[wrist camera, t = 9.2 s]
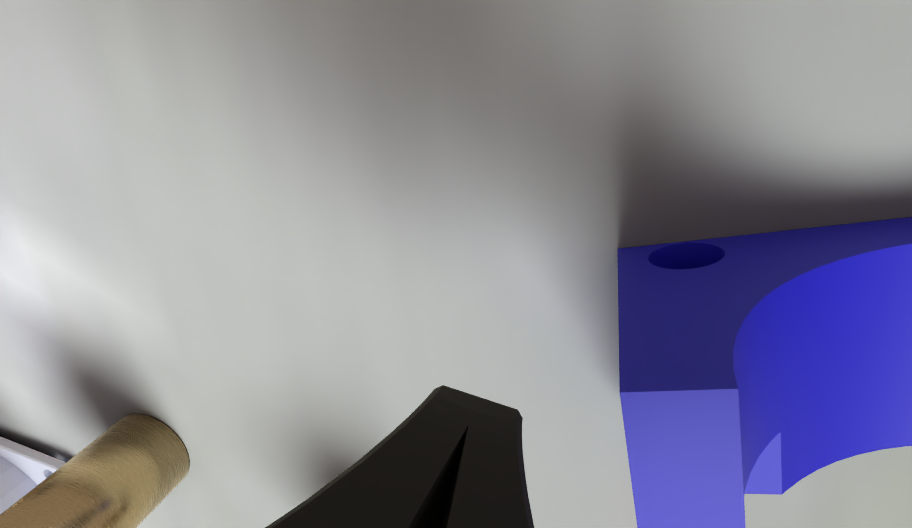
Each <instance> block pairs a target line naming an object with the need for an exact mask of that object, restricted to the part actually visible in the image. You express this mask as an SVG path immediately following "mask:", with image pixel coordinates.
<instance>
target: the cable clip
mask: <svg viewBox="0 0 912 528" xmlns="http://www.w3.org/2000/svg"><path fill="white" fill-rule="evenodd" d="M618 307H619V372H620V398H621V405H622V413H623V420H624V428H625V436H626V443H627V451H628V458H629V466H630V474H631V481H632V489H633V496H634V504H635V512H636V519H637V527H638V528H745V510H744V494H783V493H784V492H785V491H786V490H788V489H789V488H790V487H791V486H793V485H794V484H795V483H797V482H798V481H799V480H801V479H802V478H804V477H806V476H807V475H809V474H811V473H813V472H814V471H816V470H818V469H820V468H822V467H825V466H827V465H829V464H832V463H834V462H836V461H839V460H842V459H845V458H849V457H852V456H855V455H858V454H863V453H867V452H872V451H876V450H881V449H888V448H896V447H903V446H912V217H907V218H898V219H888V220H879V221H870V222H861V223H851V224H842V225H833V226H823V227H814V228H805V229H796V230H786V231H777V232H768V233H758V234H749V235H740V236H731V237H721V238H712V239H703V240H693V241H684V242H675V243H666V244H656V245H647V246H638V247H628V248H619V249H618Z"/></svg>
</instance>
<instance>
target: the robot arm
mask: <svg viewBox="0 0 912 528" xmlns="http://www.w3.org/2000/svg"><path fill="white" fill-rule="evenodd" d="M65 463H66V462H64V461H61V460H59V459H56V458H54V457H51V456H49V455H46V454H44V453H41V452H39V451H36V450H33V449H31V448H28V447H26V446H23V445H21V444H18V443H16V442H13V441H11V440H8V439H6V438H3V437H0V514H2V513H3V512H4V511H5V510H7V509H8V508H9V507H11V506H12V505H13V504H14V503H16V502H17V501H18V500H19V499H21V498H22V497H23V496H25V495H26V494H27V493H28V492H30V491H31V490H32V489H33V488H35V487H36V486H37V485H38V484H40V483H41V482H42V481H44V480H45V479H46V478H47V477H49V476H50V475H51V474H52V473H54V472H55V471H56V470H58V469H59V468H60V467H61V466H63V465H64V464H65ZM265 528H534V525H533V519H532V514H531V509H530V503H529V498H528V492H527V485H526V479H525V470H524V461H523V450H522V416H521V415H520V413H519V411H518V410H517V409H514V408H511V407H508V406H505V405H501V404H498V403H495V402H492V401H489V400H486V399H483V398H480V397H477V396H474V395H471V394H468V393H465V392H462V391H459V390H456V389H453V388H450V387H447V386H440V387H438V388H436V389H434V390H433V392H432V393H431V394H430V395H429V396H428V397H427V398H426V400H425V401H424V402H423V403H422V404H421V405H420V406H419V407H418V408H417V409H416V410H415V411H414V412H413V413H412V414H411V415H410V416H409V417H408V418H407V419H406V420H405V421H403V422H402V423H401V424H400V425H399V426H398V427H397V428H396V429H395V430H394V431H393V432H392V433H390V434H389V435H388V436H387V437H386V438H385V439H383V440H382V441H381V442H380V443H379V444H377V445H376V446H375V447H374V448H373V449H372V450H370V451H369V452H368V453H367V454H366V455H364V456H363V457H362V458H361V459H360V460H359V461H357V462H356V463H355V464H354V465H352V466H351V467H350V468H348V469H347V470H346V471H344V472H343V473H342V474H340V475H339V476H338V477H336V478H335V479H334V480H332V481H331V482H330V483H328V484H327V485H326V486H324V487H323V488H322V489H320V490H319V491H318V492H316V493H315V494H314V495H312V496H311V497H310V498H308V499H307V500H306V501H304V502H303V503H301V504H300V505H298V506H297V507H295V508H294V509H292V510H291V511H290V512H288V513H287V514H285V515H284V516H282V517H281V518H279V519H278V520H276V521H275V522H273V523H272V524H270V525H269V526H267V527H265Z"/></svg>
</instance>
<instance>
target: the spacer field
mask: <svg viewBox="0 0 912 528" xmlns="http://www.w3.org/2000/svg"><path fill="white" fill-rule="evenodd" d="M188 470H189V457H188V453H187V451H186V448H185V446H184V445H183V443H182V441H181V440H180V439H179V437H178V436H177V435H176V434H175V433H174V432H173V431H172V430H171V429H170V428H169V427H168V426H166V425H165V424H163V423H162V422H160V421H159V420H157V419H155V418H152V417H150V416H146V415H142V414H132V415H128V416H125V417H124V418H122V419H121V420H120V421H118V422H117V423H116V424H115V425H113V426H112V427H111V428H110V429H108V430H107V431H106V432H104V433H103V434H102V435H101V436H99V437H98V438H97V439H96V440H94V441H93V442H92V443H91V444H89V445H88V446H87V447H85V448H84V449H83V450H82V451H80V452H79V453H78V454H77V455H75V456H74V457H73V458H71V459H70V460H69V461H68V462H66V463H65V464H64V465H63V466H61V467H60V468H59V469H58V470H56V471H55V472H54V473H52V474H51V475H50V476H49V477H47V478H46V479H45V480H44V481H42V482H41V483H40V484H38V485H37V486H36V487H35V488H33V489H32V490H31V491H30V492H28V493H27V494H26V495H25V496H23V497H22V498H21V499H19V500H18V501H17V502H16V503H14V504H13V505H12V506H11V507H9V508H8V509H7V510H5V511H4V512H3V513H2V514H0V528H136V527H137V526H138V525H139V524H140V523H141V522H142V521H143V520H144V519H145V518H146V517H147V516H148V515H149V514H150V513H151V512H152V511H153V510H154V509H155V508H156V507H157V506H158V505H159V504H160V503H161V501H162V500H163V499H164V498H165V497H166V496H167V495H168V494H169V493H170V492H171V491H172V490H173V489H174V488H175V487H176V486H177V485H178V484H179V483H180V482H181V481H182V480H183V479H184V478H185V476H186V475H187V473H188Z"/></svg>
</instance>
